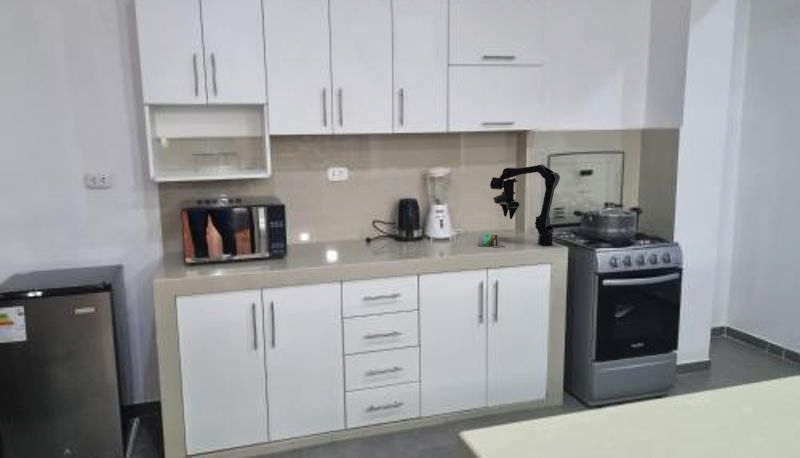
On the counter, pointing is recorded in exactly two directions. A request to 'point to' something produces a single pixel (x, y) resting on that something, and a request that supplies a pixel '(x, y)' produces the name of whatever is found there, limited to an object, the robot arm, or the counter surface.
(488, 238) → the food container
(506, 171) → the robot arm
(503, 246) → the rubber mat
